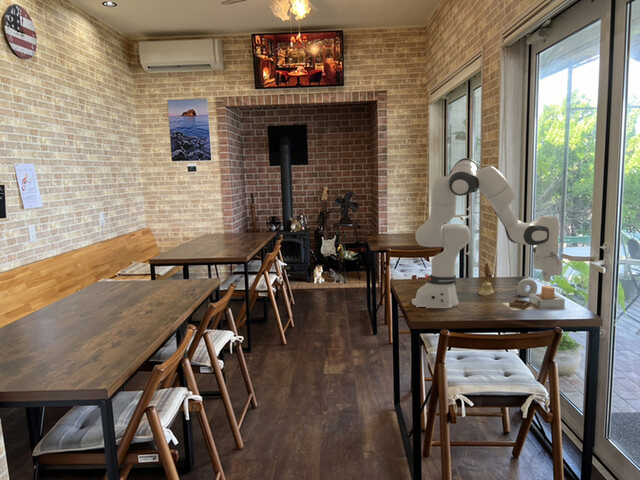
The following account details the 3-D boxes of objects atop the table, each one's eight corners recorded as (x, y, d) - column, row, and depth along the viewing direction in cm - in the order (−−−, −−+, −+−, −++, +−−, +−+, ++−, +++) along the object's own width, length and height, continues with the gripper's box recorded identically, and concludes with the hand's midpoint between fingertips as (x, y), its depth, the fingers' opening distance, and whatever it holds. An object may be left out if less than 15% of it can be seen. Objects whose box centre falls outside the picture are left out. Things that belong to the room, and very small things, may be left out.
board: (511, 313, 206) (511, 310, 206) (501, 306, 218) (501, 303, 218) (566, 311, 206) (566, 308, 205) (553, 304, 218) (553, 300, 217)
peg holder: (524, 309, 207) (524, 304, 207) (509, 306, 212) (509, 302, 212) (530, 305, 212) (530, 301, 211) (515, 303, 216) (515, 299, 216)
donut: (535, 296, 232) (535, 276, 230) (538, 298, 228) (539, 278, 227) (515, 297, 231) (515, 278, 230) (518, 299, 228) (519, 279, 226)
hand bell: (479, 295, 238) (479, 265, 236) (477, 291, 246) (477, 262, 244) (496, 296, 236) (496, 265, 234) (494, 291, 244) (494, 262, 242)
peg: (554, 306, 209) (554, 288, 208) (545, 306, 209) (545, 288, 208) (549, 304, 213) (550, 285, 212) (541, 304, 213) (541, 286, 212)
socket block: (539, 308, 206) (539, 300, 206) (528, 302, 217) (529, 293, 217) (564, 307, 206) (564, 299, 205) (552, 301, 217) (552, 292, 216)
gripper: (566, 254, 197) (565, 286, 199) (544, 247, 218) (543, 276, 219) (551, 255, 197) (550, 286, 199) (530, 247, 218) (530, 276, 220)
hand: (546, 281), depth 210 cm, fingers closed
